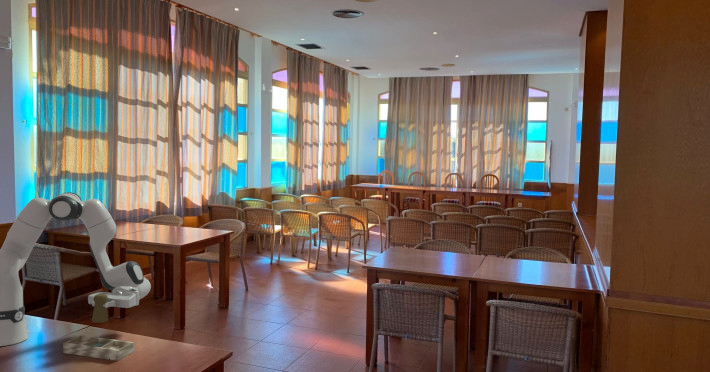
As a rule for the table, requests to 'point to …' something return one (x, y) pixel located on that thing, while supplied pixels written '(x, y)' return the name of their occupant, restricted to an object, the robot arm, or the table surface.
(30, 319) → the table surface
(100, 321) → the cork
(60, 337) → the table surface
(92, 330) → the table surface
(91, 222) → the robot arm
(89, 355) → the divided tray
